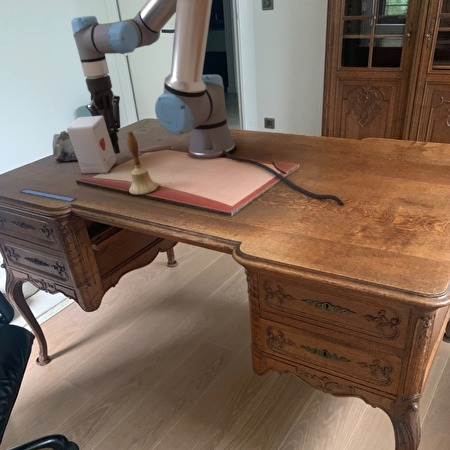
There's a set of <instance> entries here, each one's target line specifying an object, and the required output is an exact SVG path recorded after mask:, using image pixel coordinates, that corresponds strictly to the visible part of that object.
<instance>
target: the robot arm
mask: <svg viewBox="0 0 450 450" xmlns="http://www.w3.org/2000/svg"><path fill="white" fill-rule="evenodd" d="M212 4H213V0H147V1H146V2H145V3H144V4H143V6H141V8H140V10H139V11H138V12H137V14H136V15H135V16H134V17H133V18H130V19H124V20H119V21H114V22H107V23H99V22H98V18H97V17H96V16H95V15H84V16H78V17H73V18H72V19H71V29H72V34H73V35H72V36H73V38H74V43H75V45H76V48H77V49H76V50H77V52H78V56H79V60H80V64H81V68H82V72H83V76H84V77H85V84H86V88H87V91H88V92H89V94H90V102H89V104H86V109H87V110H88V112H90V115H91V116H103V117H104V120H105V124H106V127H107V130H108V134H109V137H110V140H111V143H112V147H113V150H114V153H115V155H118V154H120V153H121V150H120V145H119V136H118V133H119V131H120V130H119V129H121V115H120V114H121V112H120V111H121V110H120V101H121V96H120V95H116V94H114V91H113V90H112V88H113V84H112V79H111V76H110V71H109V66H108V61H107V58H106V54H109V55H110V54H111V55H112V54H120V55H124V54H125V55H126V54H129V53H130V54H131V53H133V52H134V51H135V50H136V49H138V48H142V47H148V46H151V45H153V44H154V43H156V42H157V41H158V40H159V39H160V36H161V31H162V30H163V28H164V27H165V26H166V24H167V23H168V22H169V21H170V20H171V19H172V18H173V16H174V15H175V18H174V19H175V20H174V32H173V43H172V56H171V65H170V66H171V67H170V73H169V74H168V75H166V76H165V78H164V82H163V93H161V95H159V96H158V98H157V99H156V101H155V105H154V113H155V117H156V119H157V122H158V123H160V125H161V127H162V128H163V129H164V130H165V131H166V132H167V133H170V134H171V135H175V136H181V135H186V134H187V133H190V132H191V133H190V139H189V145H188V151H189V153H188V154H189V156H190V157H192V158H195V159H203V160H204V159H207V160H208V159H217V158H222V157H225V156H227V157H228V158H229V159H231V160H232V161H235V162H242V163H247V164H252V165H254V166H257V167H259V168H262V169H264V170H266V171H267V172H269V173H271V174H272V175H274V176H275V177H276V178H278V179H279V180H281V181H282V182H283V183H284V184H286V185H287V186H289V187H290V188H292V189H294V190H296V191H297V192H299V193H302V194H303V195H306V196H308V197H309V198H310V197H311V198H314V199H317V200H332V201H334V202H336V204H338V206H340V207H343V206H345V204H344V203H343V201H342V200H341V199H340V197H338V196H336V195H334V194H318V193H314V192H312V191H309V190H307V189H304V188H302V187H300V186H298V185H296V184H295V183H293V182H291V181H290V180H289V179H287V178H286V177H285V176H283V175H282V174H280V173H279V172H278V171H276V170H274V169H273V168H272V167H269V166H267V164H263V163H261V162H259V161H257V160H252V159H250V158H243V157H238V156H234V155H232V154H231V153H233V152H234V151H235V150H236V143H235V141H234V139H233V137H232V134H231V131H230V128H229V126H228V121H227V120H228V119H227V109H226V108H227V107H226V99H225V97H226V96H225V86H224V82H223V78H222V76H221V75H219V74H203V71H204V66H205V65H204V64H205V57H206V49H207V44H208V43H207V42H208V35H209V27H210V20H211V11H212Z"/></svg>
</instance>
